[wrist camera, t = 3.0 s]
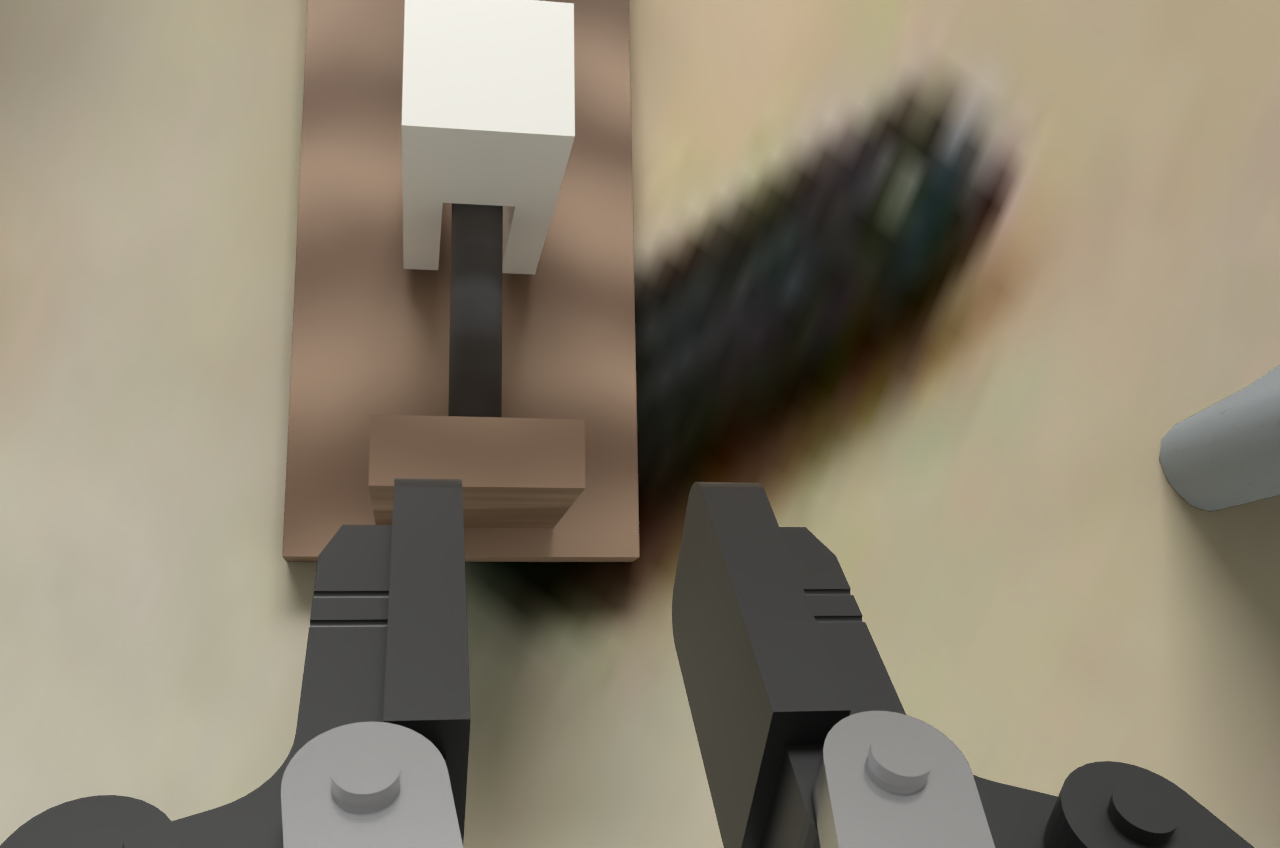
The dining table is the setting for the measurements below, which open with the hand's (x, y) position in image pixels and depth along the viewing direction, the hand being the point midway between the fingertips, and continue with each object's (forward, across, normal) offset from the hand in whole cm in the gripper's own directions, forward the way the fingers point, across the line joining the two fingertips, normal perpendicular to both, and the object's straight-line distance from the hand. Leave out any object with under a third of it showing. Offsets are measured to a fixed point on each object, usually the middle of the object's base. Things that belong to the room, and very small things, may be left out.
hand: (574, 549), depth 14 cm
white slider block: (+30, 0, -9) cm, 32 cm away
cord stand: (+35, 0, -8) cm, 36 cm away
